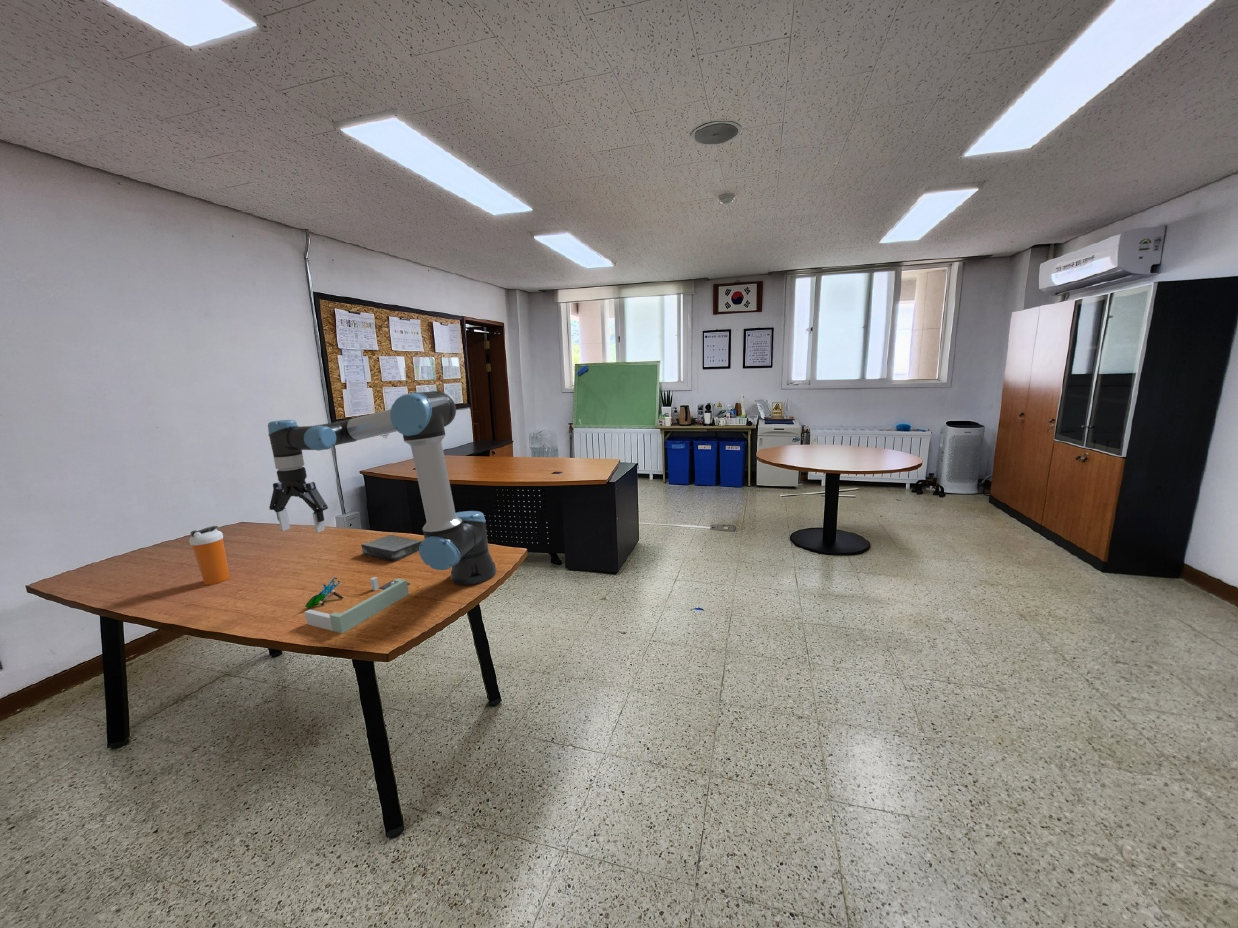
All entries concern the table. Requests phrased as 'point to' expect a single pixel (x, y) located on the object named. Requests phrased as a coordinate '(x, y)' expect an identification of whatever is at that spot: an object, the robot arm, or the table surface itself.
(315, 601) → the stick construction toy
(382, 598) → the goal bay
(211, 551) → the shaker bottle
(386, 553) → the stone block
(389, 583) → the trap mat
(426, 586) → the table surface
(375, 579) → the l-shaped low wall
